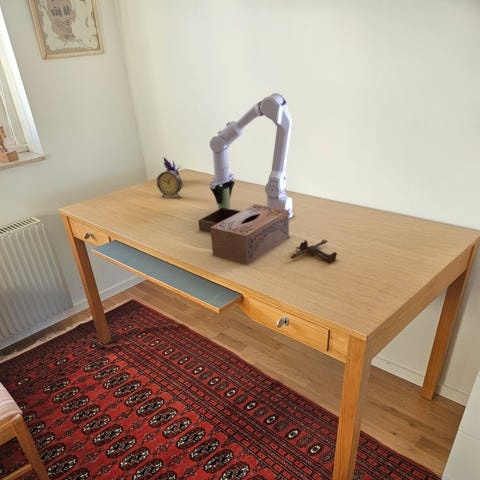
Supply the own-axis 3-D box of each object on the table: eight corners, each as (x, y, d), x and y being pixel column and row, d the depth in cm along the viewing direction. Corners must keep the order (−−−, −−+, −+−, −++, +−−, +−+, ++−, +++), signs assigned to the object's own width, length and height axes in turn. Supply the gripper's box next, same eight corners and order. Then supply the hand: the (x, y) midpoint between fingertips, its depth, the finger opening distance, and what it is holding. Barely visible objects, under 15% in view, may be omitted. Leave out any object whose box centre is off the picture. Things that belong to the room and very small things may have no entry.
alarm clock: (158, 198, 206) (153, 162, 197) (163, 194, 210) (158, 159, 201) (180, 199, 203) (175, 162, 194) (185, 195, 207) (180, 159, 198)
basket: (252, 224, 173) (252, 212, 170) (230, 238, 162) (229, 226, 160) (222, 218, 180) (221, 207, 177) (199, 231, 169) (198, 220, 167)
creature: (189, 179, 228) (186, 155, 222) (163, 189, 217) (159, 163, 211) (177, 177, 233) (174, 153, 227) (151, 186, 222) (147, 161, 215)
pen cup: (232, 206, 184) (231, 186, 179) (225, 210, 180) (224, 190, 176) (222, 204, 186) (221, 185, 182) (215, 208, 183) (213, 188, 178)
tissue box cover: (255, 229, 168) (255, 204, 162) (288, 237, 160) (288, 210, 155) (212, 255, 151) (210, 227, 145) (247, 264, 143) (245, 235, 138)
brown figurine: (315, 263, 135) (281, 245, 144) (314, 275, 138) (280, 257, 146) (351, 244, 145) (317, 229, 153) (349, 256, 147) (315, 240, 156)
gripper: (223, 162, 181) (225, 194, 189) (202, 171, 171) (205, 205, 179) (237, 163, 178) (239, 197, 185) (216, 173, 168) (219, 207, 175)
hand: (223, 201), depth 182 cm, fingers closed on pen cup, 5 cm apart
